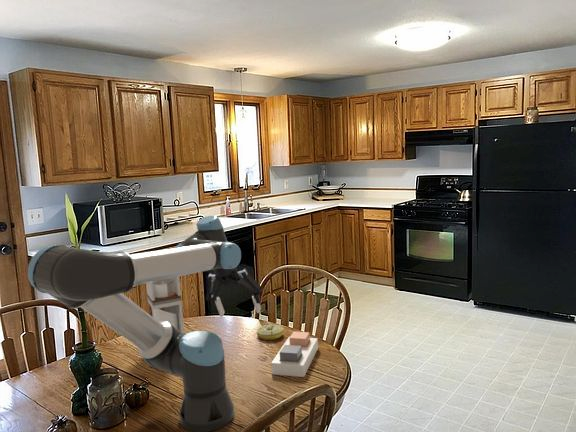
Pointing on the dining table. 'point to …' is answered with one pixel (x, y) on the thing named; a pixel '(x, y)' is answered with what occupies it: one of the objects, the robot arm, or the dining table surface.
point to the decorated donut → (270, 332)
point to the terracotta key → (299, 338)
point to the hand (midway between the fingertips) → (240, 312)
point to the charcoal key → (290, 353)
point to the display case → (166, 301)
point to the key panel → (295, 367)
